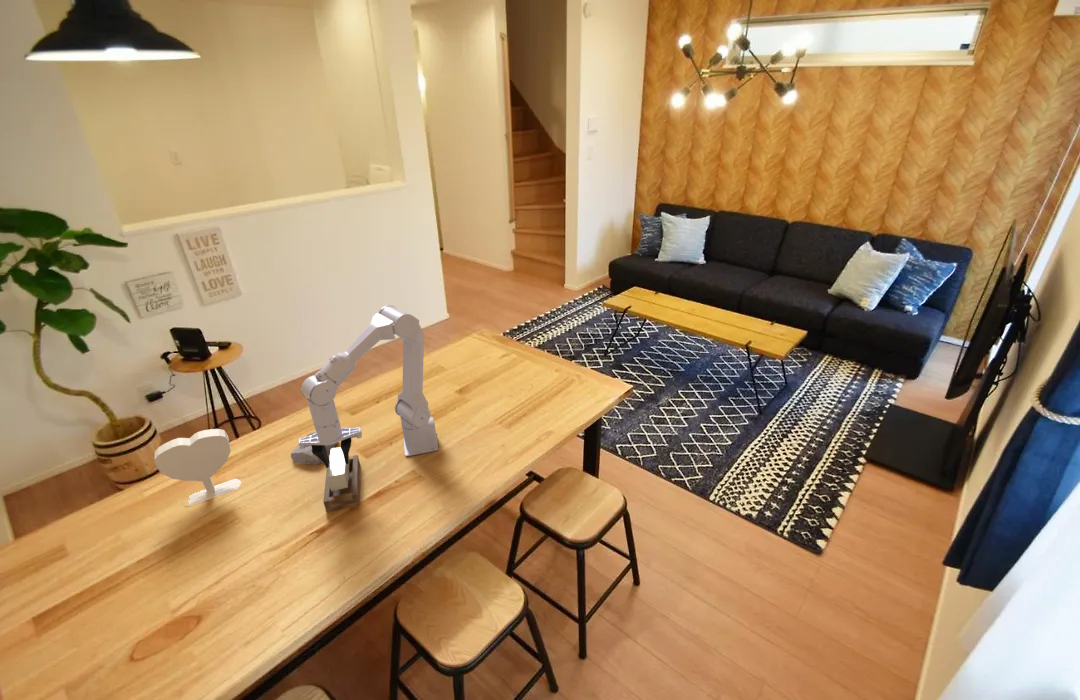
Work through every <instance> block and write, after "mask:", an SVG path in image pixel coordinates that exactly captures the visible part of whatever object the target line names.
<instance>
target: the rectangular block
mask: <svg viewBox="0 0 1080 700" xmlns="http://www.w3.org/2000/svg"><path fill="white" fill-rule="evenodd" d="M349 454H350V453H349ZM349 454H348V458H349V457H350V455H349ZM349 462H350V458H349ZM327 478H328V481H329V485H330V488H331V491H334V490H339V489H343V488H348V478H349V463H348V464H345V460H344V455H343V452H342V449H341V446H339V447H334V448H333V449H331V451H330V452H329V468H328V476H327Z"/></svg>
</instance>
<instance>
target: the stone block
mask: <svg viewBox="0 0 1080 700" xmlns="http://www.w3.org/2000/svg"><path fill="white" fill-rule="evenodd" d="M313 434H316V431H314V432H311V433H308V434H307V435H306V436H305V437H307V436H310V435H313ZM338 443H339V442H337V443H335V444H331V445H325V447H326V451H327V454H328V455H330V451H331V449H333V448H335V446H336V445H337V444H338ZM290 457H291V458H290V459H291V460H292V461H293V463H295V464H298V465H315V466H319V465H320V464H322V463H323V462H322V461H321V460H320V459H319V458H318V457H317V456H316V455H314V454H313V453H312V446H307V447H305V448H304V449H300V446H299V444H298V445H297V446H296V447H295V448H294V449H293V450H292V451H291V452H290Z"/></svg>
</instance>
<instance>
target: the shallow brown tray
mask: <svg viewBox="0 0 1080 700" xmlns="http://www.w3.org/2000/svg"><path fill="white" fill-rule="evenodd" d="M349 458H350V462H349V478H348V488H343V489H339V490H334V491H331V488H330V485H329V481H328V478H327V476H328V468H326V473H325V474H326V475H325V483H324V484H325V485H324V492H323V493H324V494H323V506H324V508H325V513H329V512H334V511H339V510H343V509H347V508H351V507H356V506H360V503H361V501H360V499H361V495H360V494H361V490H360V489H361V462H360V459H359V454H356V455H352V456H351V455H349Z"/></svg>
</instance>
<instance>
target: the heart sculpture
mask: <svg viewBox="0 0 1080 700" xmlns="http://www.w3.org/2000/svg"><path fill="white" fill-rule="evenodd" d="M230 454H231V444H230V438H229V435H228V434H227V432H226V431H225V429H221V428H211V429H203V430H200V431H197V432H195V433H194V434H193V435H191V436H190V437H176V438H173V439H171V440H169V441H167V442H165V443H163V444H162V445H160V446H159V447H157V449H155V451H154V464H155V467H156V469H157V470H158V471H159V472H160V473H161V474H162V475H164V476H166V477H168V478H171V479H172V480H179V481H185V482H202V484H203V486H204V489H205V490H204V489H201V490H199V491H200V492H199V491H196V492H197V493H196V492H194V494H193V493H191V494H192V495H190V494H189V495H190V496H189V498H190V500H188V502H189V505H192V504H195V503H198V502H200V503H199V504H201V503H203V501H204V502H206V501H205V500H207V501H209V500H211V499H210V498H212V499H214V498H213V497H215V498H217V497H216V496H218V497H221V496H222V495H226V494H228V493H231V492H233V491H237V490H239V488H240V486H241V484H242V481H241V480H240V479H238V478H233V479H230V480H227V481H225V482H221V483H219V484H216V485H215V484H214V482H213V480H212V477H213V476H214V475H215V474H216V473H217V472H218V471H219V470H221V468H222V467H223V466H224V465H225V464H226V463H227V461H228V459H229V457H230ZM208 499H209V500H208Z"/></svg>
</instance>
